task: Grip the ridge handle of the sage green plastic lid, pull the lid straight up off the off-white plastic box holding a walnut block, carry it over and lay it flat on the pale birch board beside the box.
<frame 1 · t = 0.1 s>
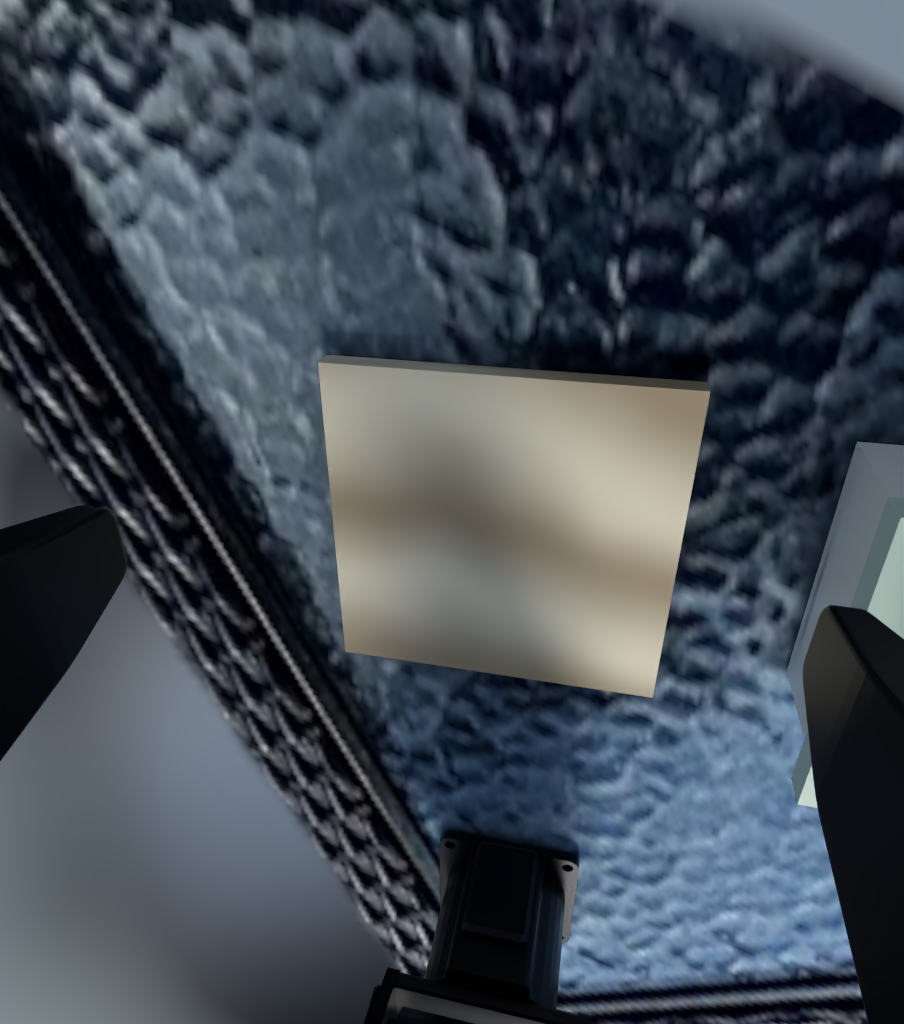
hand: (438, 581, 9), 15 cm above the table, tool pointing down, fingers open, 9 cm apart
board: (501, 530, 26), on the table
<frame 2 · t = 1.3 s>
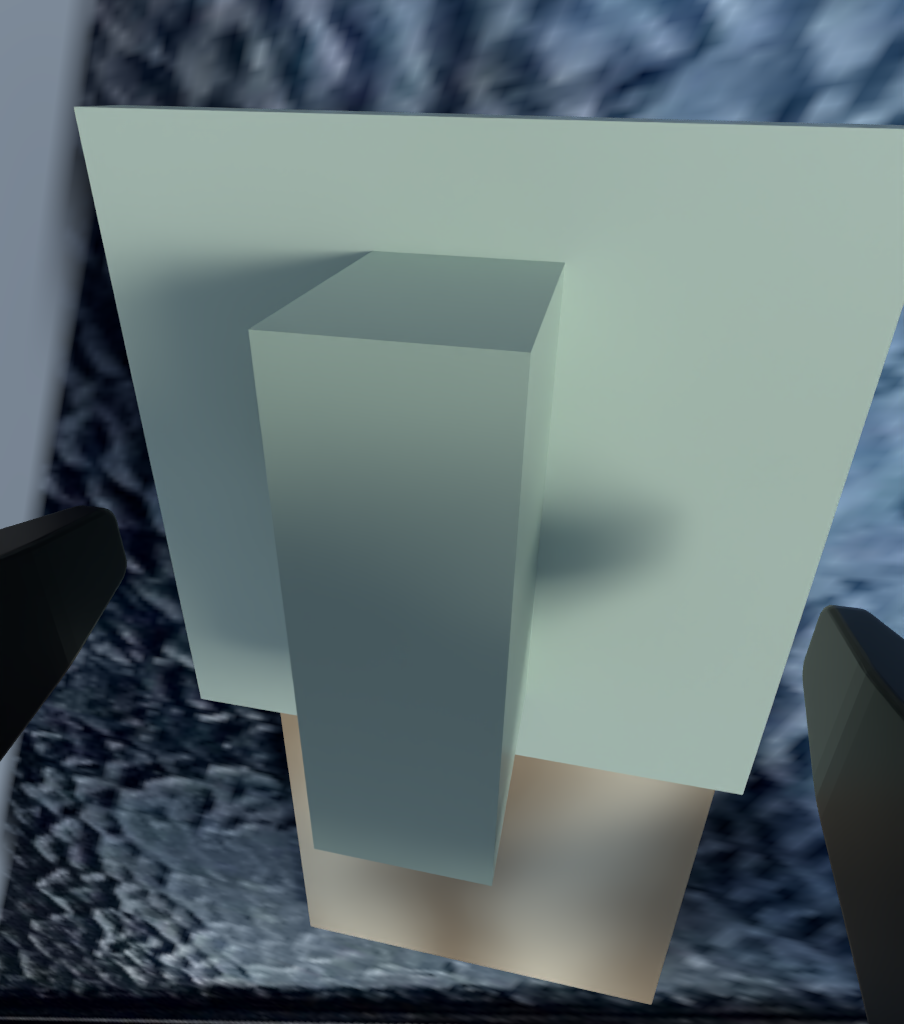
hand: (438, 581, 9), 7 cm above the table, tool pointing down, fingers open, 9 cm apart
board: (484, 833, 23), on the table
lid: (481, 452, 12), point 4 cm above the table, touching box
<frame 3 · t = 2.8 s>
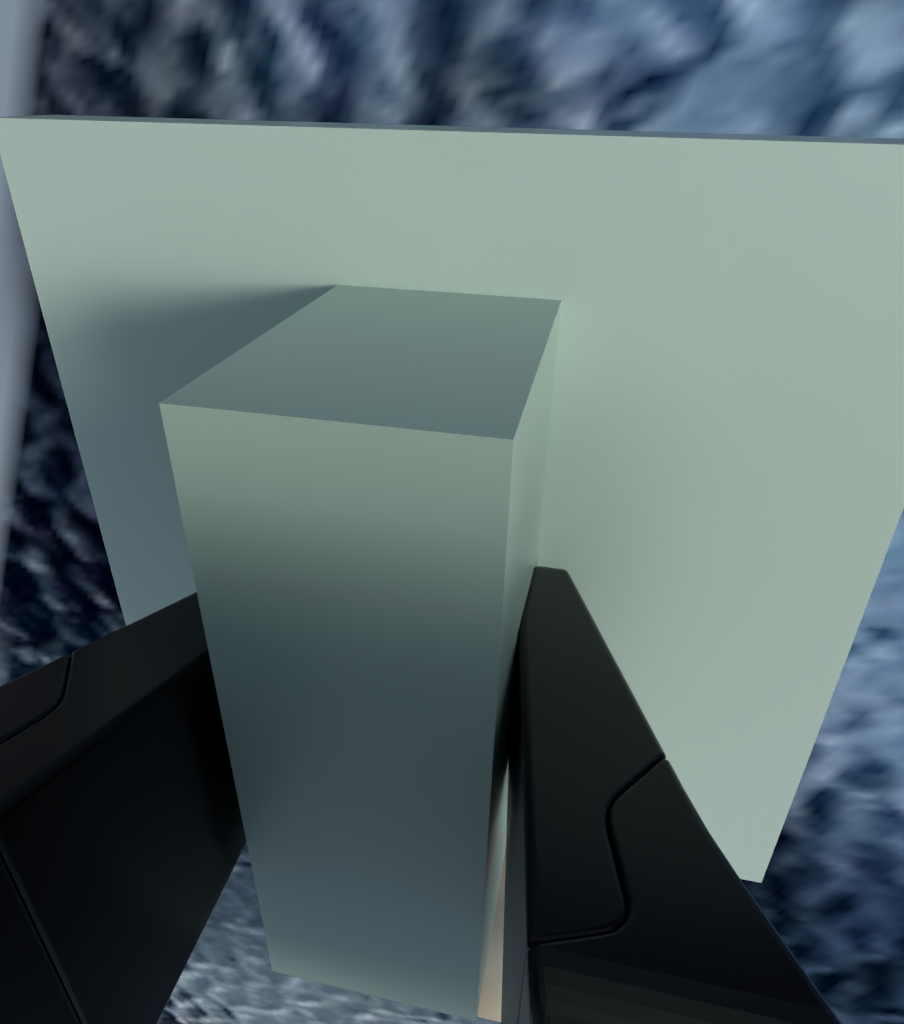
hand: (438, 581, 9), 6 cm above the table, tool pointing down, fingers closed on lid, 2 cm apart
board: (479, 881, 22), on the table
lid: (469, 500, 11), point 4 cm above the table, touching box, gripper
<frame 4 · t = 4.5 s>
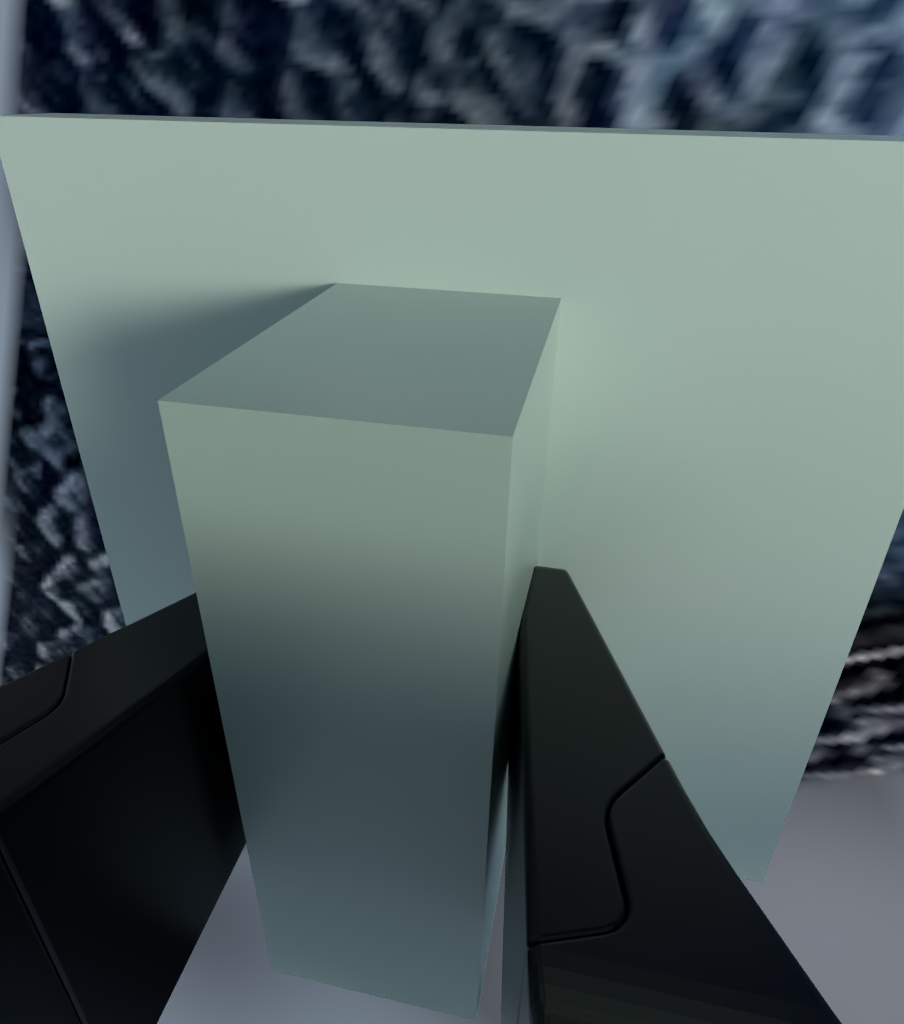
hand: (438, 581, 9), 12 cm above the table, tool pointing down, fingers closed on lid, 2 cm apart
lid: (469, 499, 11), point 10 cm above the table, touching gripper
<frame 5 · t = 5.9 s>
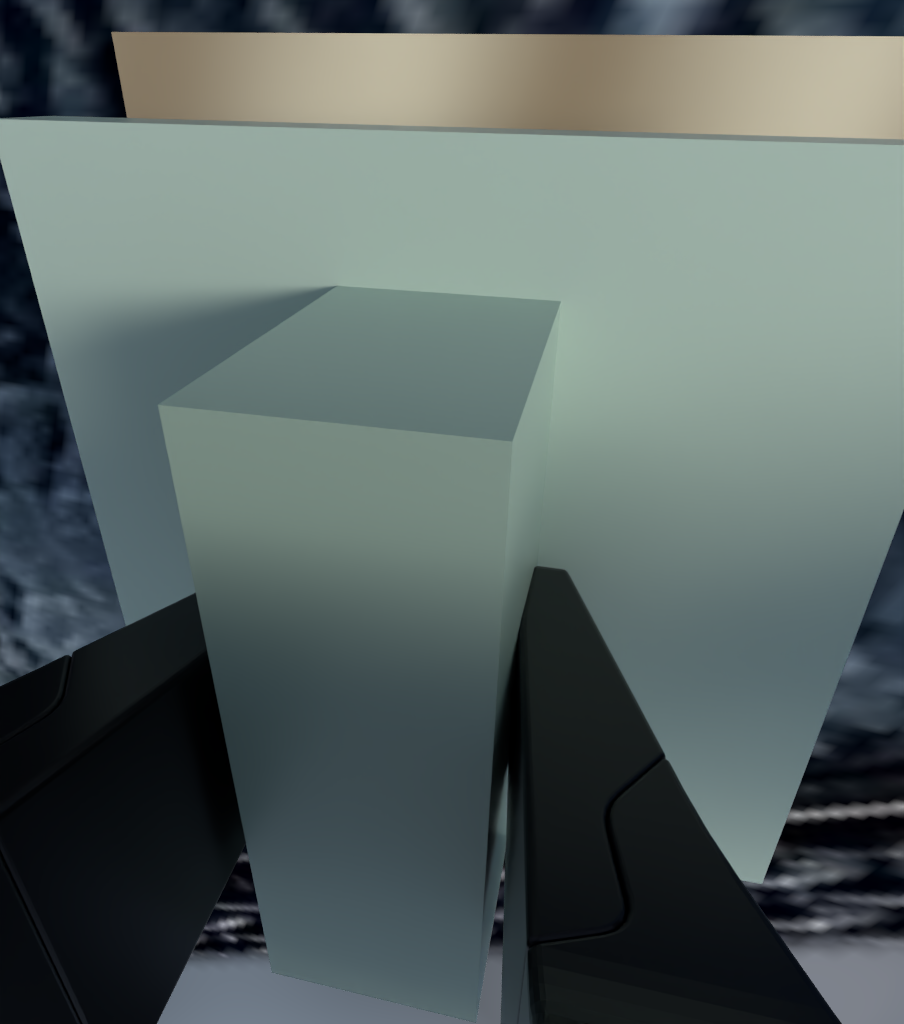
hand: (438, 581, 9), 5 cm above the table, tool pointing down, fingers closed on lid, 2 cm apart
board: (497, 421, 14), on the table
lid: (469, 501, 11), point 3 cm above the table, touching gripper
when the fingers open (4 cm above the table, at t = 6.7 s): lid drops 2 cm, resting on board.
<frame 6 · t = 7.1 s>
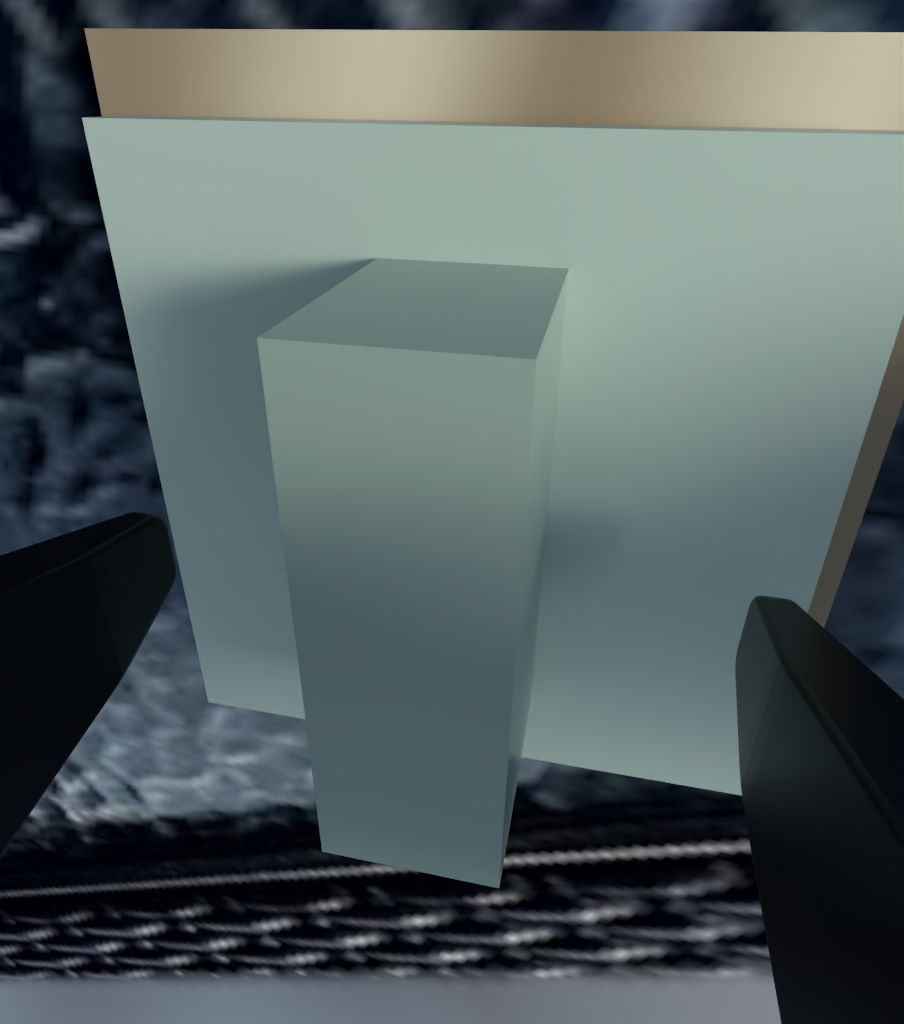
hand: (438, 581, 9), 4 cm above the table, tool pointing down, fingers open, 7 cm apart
board: (493, 437, 13), on the table
lid: (486, 456, 12), point 1 cm above the table, touching board
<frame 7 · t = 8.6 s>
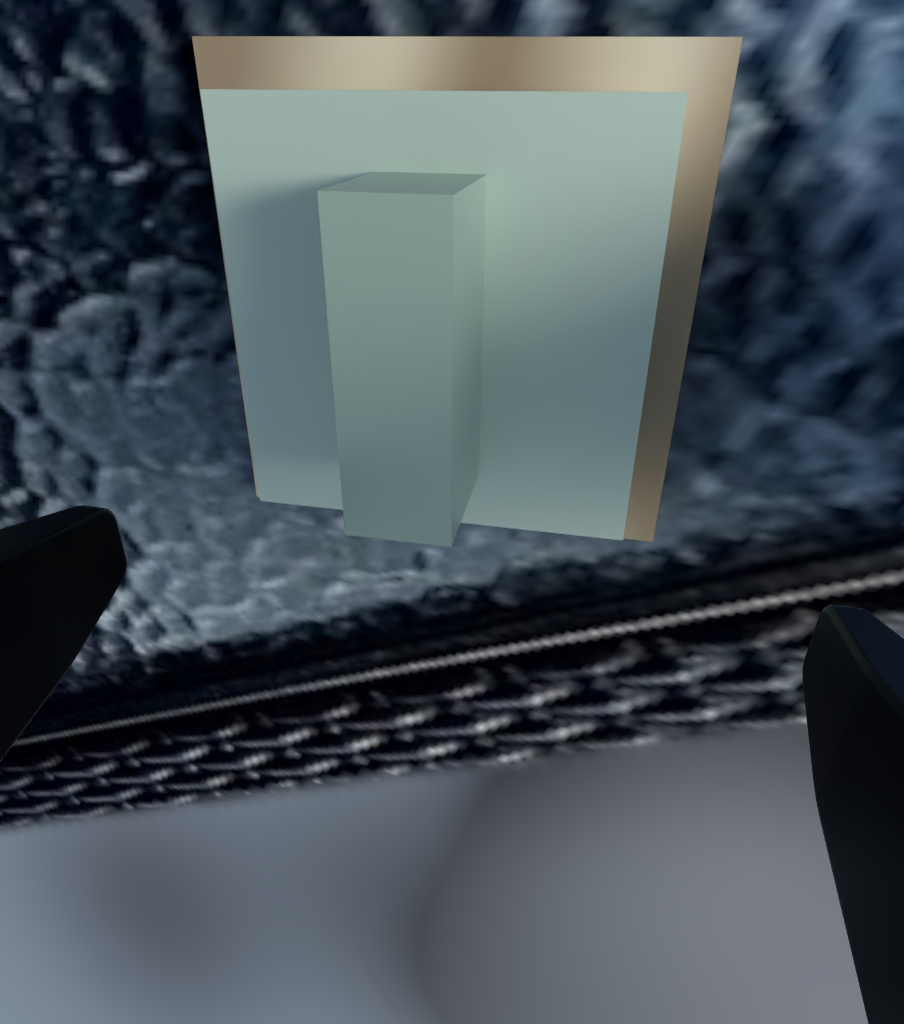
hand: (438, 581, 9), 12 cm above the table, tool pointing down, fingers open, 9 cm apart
board: (453, 308, 19), on the table
lid: (447, 316, 19), point 1 cm above the table, touching board
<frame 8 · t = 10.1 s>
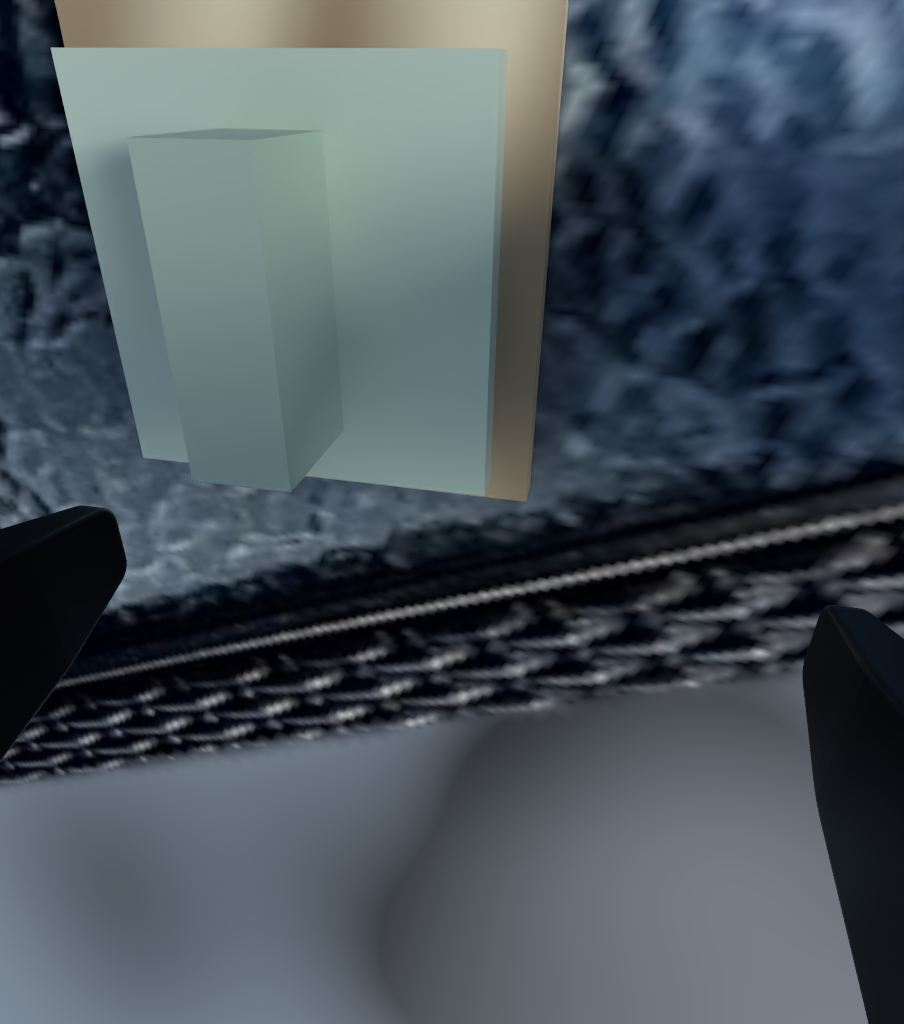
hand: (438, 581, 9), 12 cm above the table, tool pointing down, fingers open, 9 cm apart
board: (325, 269, 20), on the table
lid: (314, 276, 19), point 1 cm above the table, touching board
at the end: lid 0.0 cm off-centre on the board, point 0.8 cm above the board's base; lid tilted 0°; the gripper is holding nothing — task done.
